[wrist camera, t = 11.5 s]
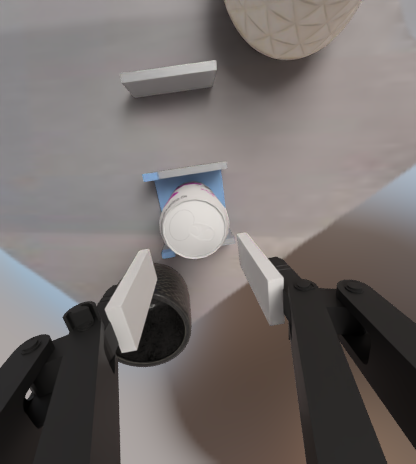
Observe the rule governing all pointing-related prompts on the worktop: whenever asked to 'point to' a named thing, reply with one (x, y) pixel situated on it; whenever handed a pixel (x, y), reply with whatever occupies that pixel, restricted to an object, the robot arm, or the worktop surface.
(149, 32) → the worktop surface
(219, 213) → the supplement can
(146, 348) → the planter
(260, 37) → the vase
